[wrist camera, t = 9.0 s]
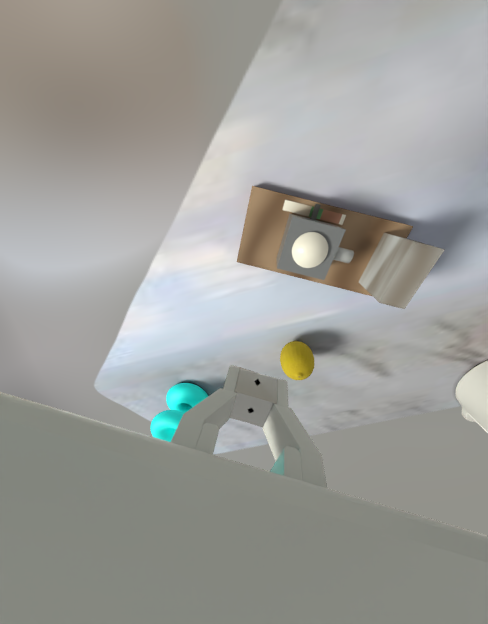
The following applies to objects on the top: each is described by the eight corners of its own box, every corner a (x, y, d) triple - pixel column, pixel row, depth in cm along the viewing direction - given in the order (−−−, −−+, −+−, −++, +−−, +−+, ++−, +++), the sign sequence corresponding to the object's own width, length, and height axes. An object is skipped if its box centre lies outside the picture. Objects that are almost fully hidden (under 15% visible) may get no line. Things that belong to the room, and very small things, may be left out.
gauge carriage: (361, 215, 27) (380, 218, 22) (335, 273, 30) (346, 286, 26) (294, 198, 27) (298, 197, 22) (276, 258, 30) (276, 269, 26)
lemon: (284, 329, 38) (286, 359, 31) (314, 336, 38) (323, 367, 31) (276, 353, 41) (276, 385, 34) (304, 359, 40) (311, 393, 33)
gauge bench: (406, 225, 28) (455, 234, 21) (369, 292, 33) (397, 319, 25) (253, 186, 28) (245, 181, 21) (238, 259, 33) (227, 276, 25)
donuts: (208, 446, 40) (172, 457, 44) (219, 402, 49) (188, 414, 53) (173, 414, 37) (137, 429, 41) (192, 373, 46) (161, 388, 50)
